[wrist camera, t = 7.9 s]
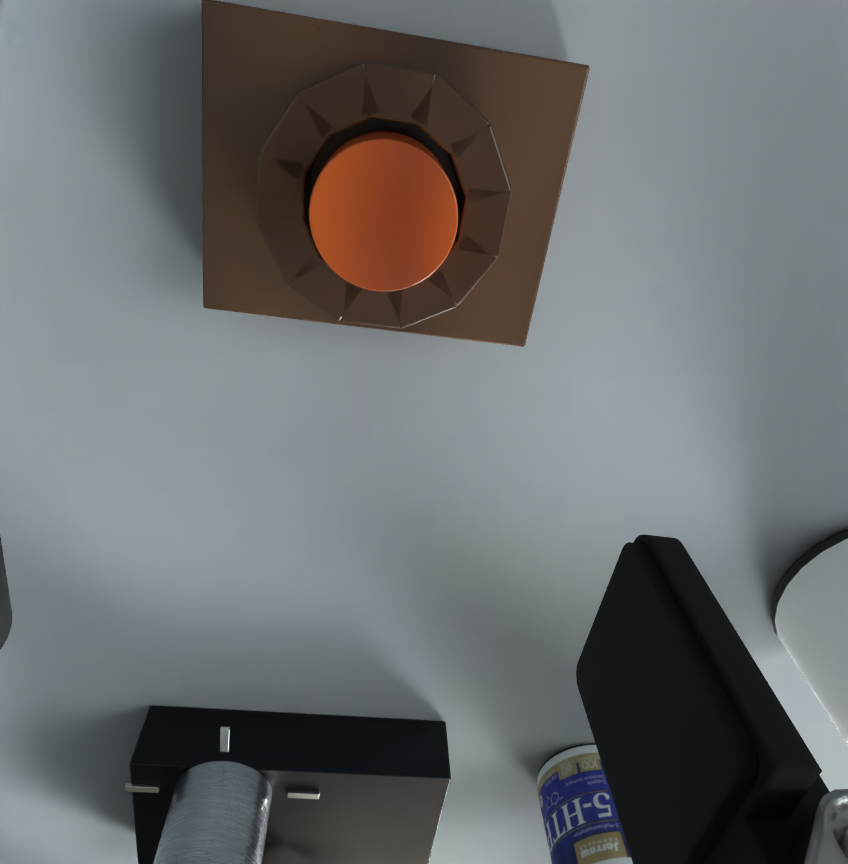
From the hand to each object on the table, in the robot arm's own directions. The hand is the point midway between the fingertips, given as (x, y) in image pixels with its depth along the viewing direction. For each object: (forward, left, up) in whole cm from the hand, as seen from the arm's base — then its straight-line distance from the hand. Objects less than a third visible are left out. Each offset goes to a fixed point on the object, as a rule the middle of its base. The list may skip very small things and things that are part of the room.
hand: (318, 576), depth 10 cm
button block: (+1, +4, -14) cm, 15 cm away
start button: (+1, +4, -11) cm, 11 cm away
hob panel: (0, -25, -14) cm, 29 cm away
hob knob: (-3, -22, -11) cm, 25 cm away
